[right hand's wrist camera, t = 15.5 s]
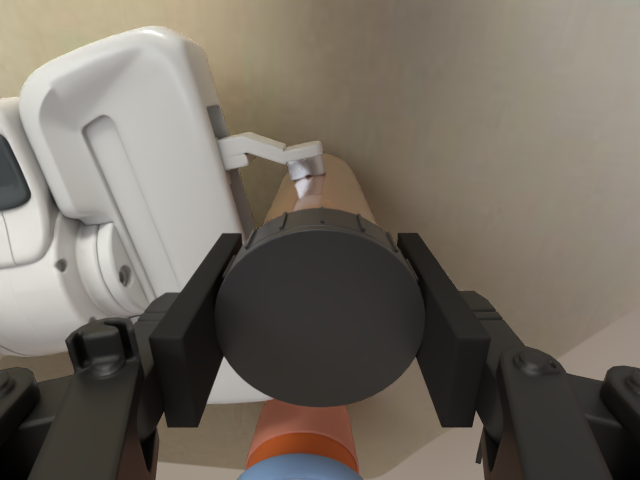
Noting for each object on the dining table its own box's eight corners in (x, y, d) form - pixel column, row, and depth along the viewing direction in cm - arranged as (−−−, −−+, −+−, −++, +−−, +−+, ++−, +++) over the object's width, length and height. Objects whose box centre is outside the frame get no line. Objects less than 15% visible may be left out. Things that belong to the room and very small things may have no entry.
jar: (373, 197, 25) (440, 326, 11) (314, 242, 27) (307, 407, 13) (326, 135, 24) (335, 194, 10) (265, 185, 25) (195, 302, 11)
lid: (370, 171, 11) (381, 187, 9) (437, 330, 13) (456, 369, 11) (192, 252, 12) (168, 281, 10) (281, 388, 14) (275, 432, 12)
